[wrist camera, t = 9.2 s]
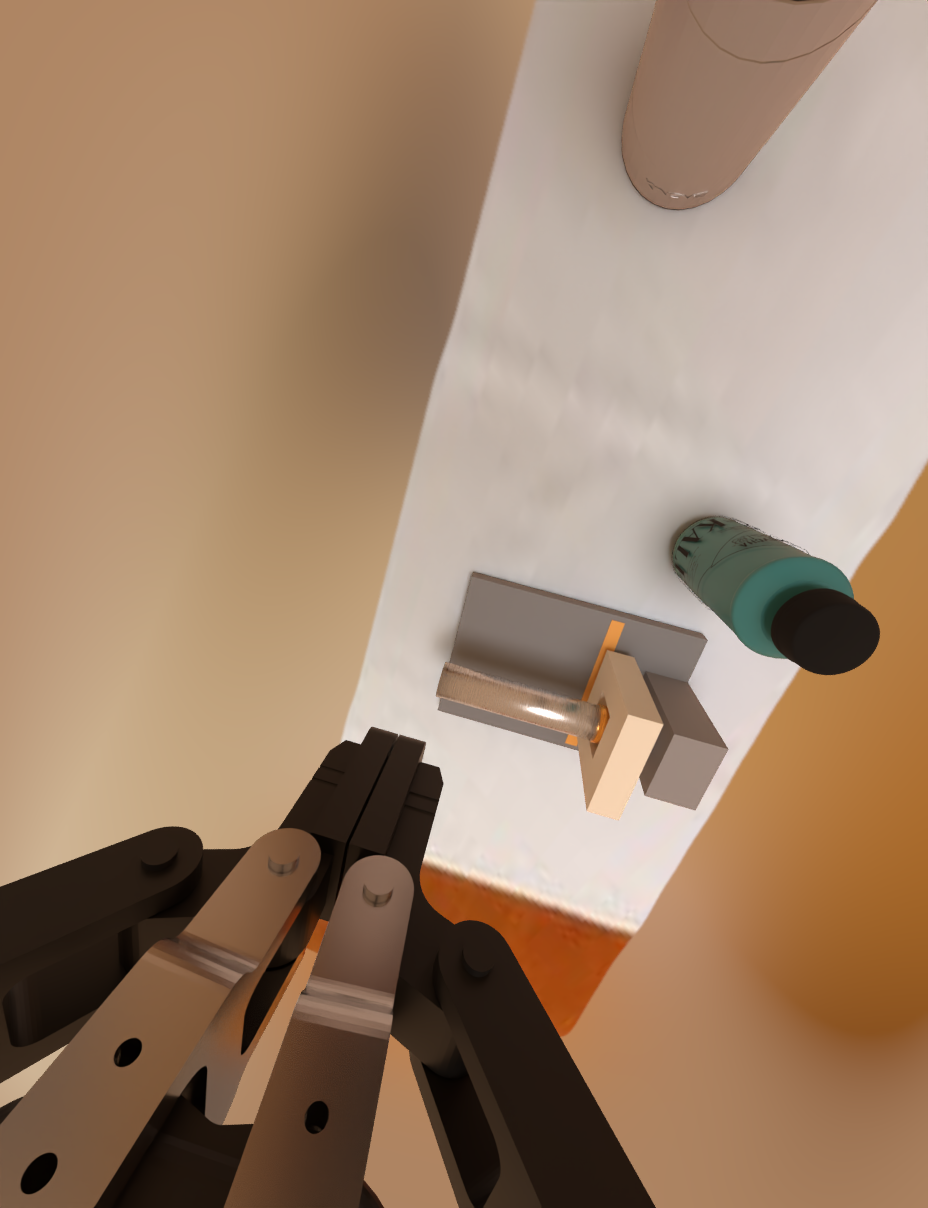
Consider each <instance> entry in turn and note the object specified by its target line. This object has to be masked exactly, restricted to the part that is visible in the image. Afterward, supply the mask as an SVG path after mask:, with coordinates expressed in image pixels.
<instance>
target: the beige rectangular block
mask: <svg viewBox="0 0 928 1208" xmlns="http://www.w3.org/2000/svg"><path fill="white" fill-rule="evenodd" d="M587 702H589V703H593V704H596V705H598V704H601V705H604V706H607V708H608V712H609V715H610V718H609V721H608V723H607V725H606V728H605V730H604V733H603V735H602V738H601V740H600V742H599V744H596V743H593V742H590V741H589V740H587V739H583V738H580V737H577V741H578V749H579V756H580V764H581V771H582V779H583V787H584V794H585V802H586V809H587V811H588V812H592V813H595V814H598V815H602V816H605V817H609V818H612V819H615V820H619V819H620V817H621V815H622V813H623V810H624V808H625V806H626V804H627V802H628V800H629V798H630V795H631V793H632V791H633V789H634V787H635V785H636V783H637V780H638V778H639V776H640V774H641V772H642V770H643V768H644V766H645V763H646V761H647V759H648V757H649V755H650V753H651V751H652V748H653V746H654V744H655V742H656V740H657V738H658V736H659V733H660V731H661V729H662V727H663V725H664V724H663V722H662V720H661V717H660V715H659V713H658V711H657V708H656V706H655V704H654V701H653V699H652V697H651V695H650V692H649V690H648V688H647V685H646V683H645V681H644V679H643V676H642V674H641V672H640V669H639V667H638V665H637V663H636V660H635V658H634V657H631V656H627V655H624V654H620V653H616V652H613V651H609V650H607V652H606V654H605V657H604V659H603V662H602V665H601V667H600V670H599V672H598V675H597V677H596V680H595V683H594V685H593V688H592V690H591V693H590V696H589V698H588V701H587Z"/></svg>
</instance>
